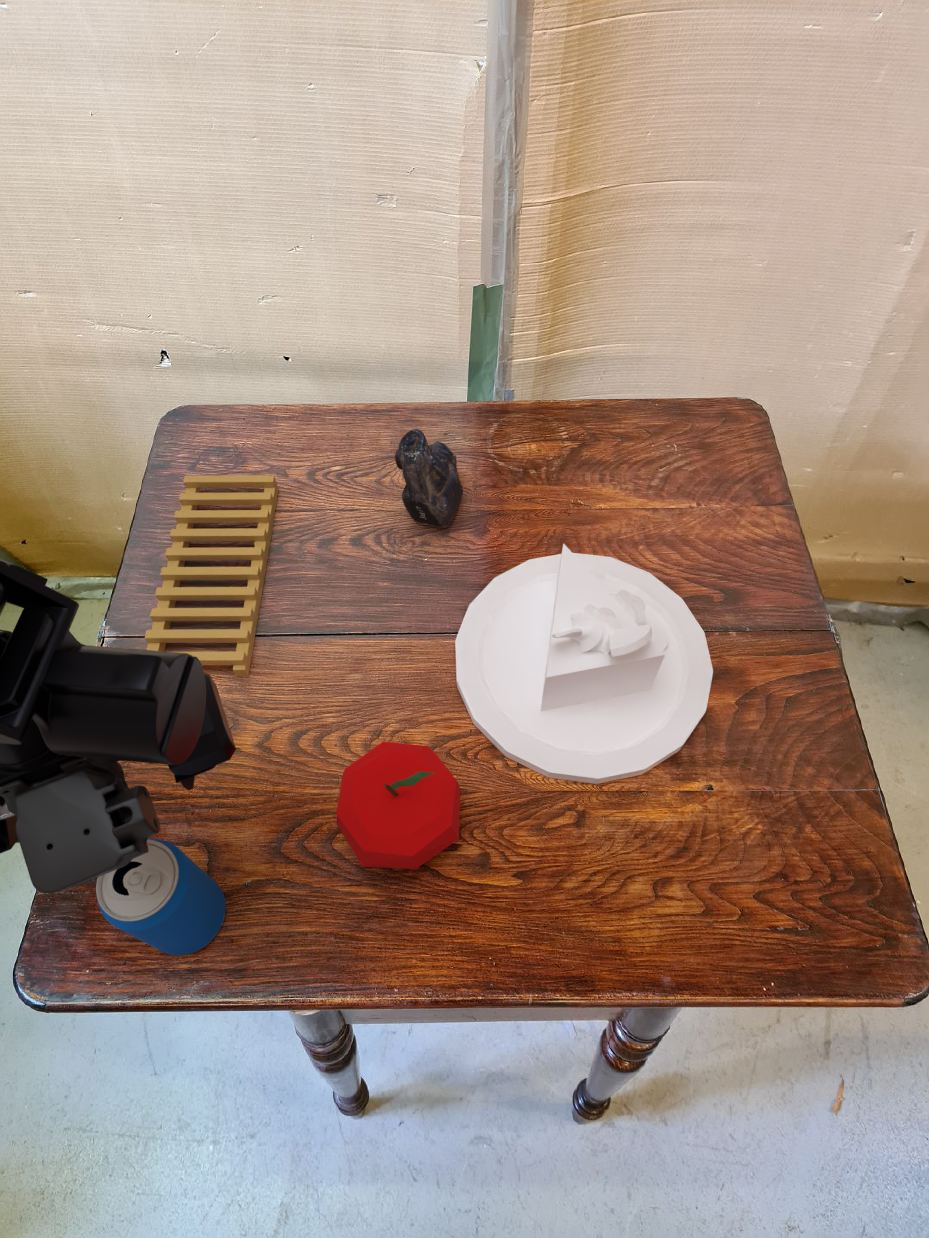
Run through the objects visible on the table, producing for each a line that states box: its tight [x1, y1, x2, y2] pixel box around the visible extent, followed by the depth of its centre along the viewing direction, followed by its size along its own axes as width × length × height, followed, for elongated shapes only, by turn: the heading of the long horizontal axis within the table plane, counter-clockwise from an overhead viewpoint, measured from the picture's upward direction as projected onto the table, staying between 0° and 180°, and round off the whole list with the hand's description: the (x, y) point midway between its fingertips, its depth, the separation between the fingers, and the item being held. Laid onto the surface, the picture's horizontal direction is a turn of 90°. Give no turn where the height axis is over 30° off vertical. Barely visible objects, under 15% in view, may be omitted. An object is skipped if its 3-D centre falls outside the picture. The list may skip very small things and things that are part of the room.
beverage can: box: [95, 838, 227, 957], centre depth 61 cm, size 6×6×12 cm
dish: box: [454, 542, 714, 785], centre depth 73 cm, size 25×25×11 cm
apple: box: [335, 741, 462, 871], centre depth 66 cm, size 11×11×10 cm
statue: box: [394, 428, 464, 529], centre depth 82 cm, size 6×12×15 cm, turn 161°
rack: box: [144, 474, 280, 678], centre depth 83 cm, size 24×10×2 cm, turn 0°
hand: (126, 808), depth 57 cm, fingers open, 9 cm apart
